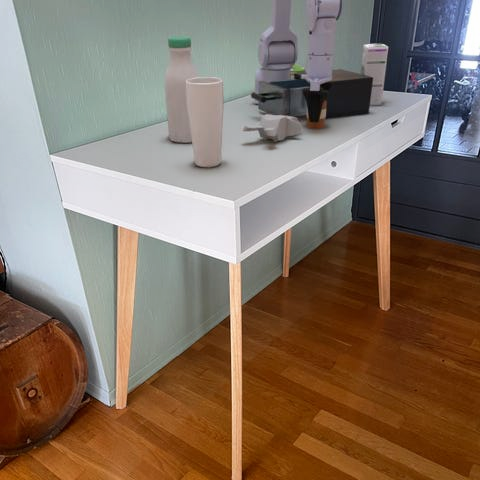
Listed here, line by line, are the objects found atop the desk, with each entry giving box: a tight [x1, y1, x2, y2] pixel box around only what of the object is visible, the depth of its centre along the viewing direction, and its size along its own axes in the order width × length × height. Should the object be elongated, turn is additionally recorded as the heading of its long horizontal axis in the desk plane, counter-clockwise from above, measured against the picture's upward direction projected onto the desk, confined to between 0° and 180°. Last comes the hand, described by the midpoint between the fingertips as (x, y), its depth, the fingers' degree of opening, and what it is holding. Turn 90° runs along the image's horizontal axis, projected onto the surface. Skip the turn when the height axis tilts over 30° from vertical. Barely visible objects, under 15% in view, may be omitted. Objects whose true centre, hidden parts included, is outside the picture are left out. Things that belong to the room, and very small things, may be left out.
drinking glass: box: [186, 76, 225, 168], centre depth 94 cm, size 7×7×15 cm
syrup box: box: [360, 43, 389, 106], centre depth 136 cm, size 6×6×14 cm
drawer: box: [250, 78, 309, 117], centre depth 127 cm, size 17×13×7 cm
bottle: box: [305, 87, 327, 130], centre depth 118 cm, size 4×4×8 cm
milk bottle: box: [164, 36, 200, 144], centre depth 107 cm, size 8×8×20 cm
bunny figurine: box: [242, 113, 303, 143], centre depth 111 cm, size 10×5×15 cm
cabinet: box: [294, 68, 373, 120], centre depth 131 cm, size 15×15×9 cm
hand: (315, 118), depth 120 cm, fingers open, 7 cm apart
